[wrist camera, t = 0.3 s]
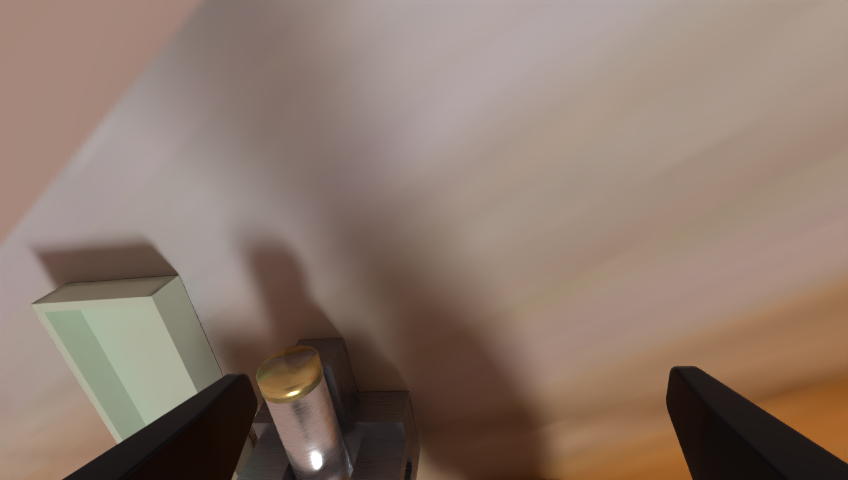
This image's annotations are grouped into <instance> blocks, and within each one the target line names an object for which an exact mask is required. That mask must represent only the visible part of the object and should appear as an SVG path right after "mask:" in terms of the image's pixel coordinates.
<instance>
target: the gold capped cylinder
mask: <svg viewBox="0 0 848 480" xmlns="http://www.w3.org/2000/svg"><path fill="white" fill-rule="evenodd" d="M256 380H257V383H258V386H259V388H260V391H261V393H262V395H263V397H264V399H265V400H266V403H267V405H268V408H269V410H270V413H271V415H272V418H273V421H274V423H275V426H276V428H277V431H278V433H279V436H280V438H281V441H282V443H283V446H284V448H285V451H286V453H287V456H288V458H289V461H290V464H291V466H292V469H293V471H294V474H295V476H296V479H297V480H350V477H351V474H352V470H353V468H352V465H351V461H350V458H349V455H348V452H347V448H346V445H345V442H344V439H343V435H342V432H341V429H340V426H339V422H338V419H337V416H336V413H335V409H334V406H333V403H332V400H331V396H330V393H329V390H328V387H327V383H326V380H325V377H324V374H323V367H322V364H321V361H320V357H319V354H318V352H317V351H316V350H315V349H314V348H312V347H309V346H303V345H300V346H292V347H288V348H285V349H282V350H280V351H278V352H276V353H274V354H273V355H271V356H270V357H268V358H267V359H266V360H265V361H264V362H263V363H262V364H261V365H260V366H259V368H258V370H257V373H256Z"/></svg>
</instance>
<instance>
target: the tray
mask: <svg viewBox="0 0 848 480" xmlns="http://www.w3.org/2000/svg"><path fill="white" fill-rule="evenodd" d="M30 305H31V306H32V308H33V309H34V311H35V313H36V314H37V316H38V317H39V319H40V321H41V322H42V324H43V325H44V327H45V329H46V330H47V332H48V333H49V335H50V337H51V338H52V340H53V341H54V343H55V345H56V346H57V348H58V349H59V351H60V353H61V354H62V356H63V357H64V359H65V361H66V362H67V364H68V365H69V367H70V369H71V370H72V372H73V373H74V375H75V377H76V378H77V380H78V381H79V383H80V385H81V386H82V388H83V389H84V391H85V392H86V394H87V396H88V397H89V399H90V400H91V402H92V404H93V405H94V407H95V408H96V410H97V412H98V413H99V415H100V416H101V418H102V420H103V421H104V423H105V424H106V426H107V428H108V429H109V431H110V432H111V434H112V436H113V437H114V439H115V440H116V442H117V444H119V443H120V442H122V441H123V440H125V439H127V438H128V437H130V436H131V435H133V434H134V433H136V432H137V431H139V430H141V429H142V428H144V427H145V426H147V425H148V424H150V423H152V422H153V421H155V420H156V419H158V418H159V417H161V416H163V415H164V414H166V413H167V412H169V411H170V410H172V409H173V408H175V407H177V406H178V405H180V404H181V403H183V402H184V401H186V400H188V399H189V398H191V397H192V396H194V395H195V394H197V393H199V392H200V391H202V390H203V389H205V388H206V387H208V386H209V385H211V384H213V383H214V382H216V381H217V380H219V379H220V378H222V377H223V375H222V373H221V370H220V368H219V366H218V364H217V361H216V359H215V357H214V354H213V352H212V350H211V348H210V345H209V343H208V341H207V338H206V336H205V334H204V332H203V329H202V327H201V325H200V322H199V320H198V318H197V316H196V313H195V311H194V309H193V306H192V304H191V302H190V300H189V297H188V295H187V293H186V290H185V288H184V286H183V284H182V281H181V279H180V277H179V275H174V276H161V277H147V278H134V279H120V280H107V281H93V282H80V283H67V284H65V285H63V286H61V287H59V288H58V289H56V290H54V291H53V292H51V293H49V294H47V295H46V296H44V297H42V298H40V299H39V300H37V301H35V302H33V303H32V304H30ZM253 449H254V446H253V444H252V441H251V439H250V437H249V434H248V437H247V439H246V442H245V445H244V448H243V450H242V453H241V456H240V459H239V461H238V464H237V467H236V469H235V472H234V474H233V477H232V479H231V480H236V479H237V477H238V476H239V474H240V472H241V470H242V468H243V467H244V465H245V463H246V461H247V459H248V458H249V456H250V454H251V452H252V450H253Z"/></svg>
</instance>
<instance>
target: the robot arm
mask: <svg viewBox="0 0 848 480" xmlns="http://www.w3.org/2000/svg"><path fill="white" fill-rule="evenodd" d="M666 404H667V409H668V413H669V415H670V418H671V421H672V424H673V426H674V429H675V432H676V435H677V437H678V440H679V443H680V446H681V449H682V451H683V454H684V457H685V460H686V462H687V465H688V468H689V471H690V474H691V476H692V479H693V480H848V464H847V463H846V462H844V461H842V460H841V459H839V458H838V457H836V456H835V455H833V454H832V453H830V452H828V451H827V450H825V449H824V448H822V447H821V446H819V445H818V444H816V443H814V442H813V441H811V440H810V439H808V438H807V437H805V436H804V435H802V434H800V433H799V432H797V431H796V430H794V429H793V428H791V427H790V426H788V425H786V424H785V423H783V422H782V421H780V420H779V419H777V418H776V417H774V416H772V415H771V414H769V413H768V412H766V411H765V410H763V409H762V408H760V407H758V406H757V405H755V404H754V403H752V402H751V401H749V400H748V399H746V398H744V397H743V396H741V395H740V394H738V393H737V392H735V391H734V390H732V389H731V388H729V387H727V386H726V385H724V384H723V383H721V382H720V381H718V380H717V379H715V378H713V377H712V376H710V375H709V374H707V373H706V372H704V371H703V370H701V369H699V368H697V367H695V366H675V367H673V368H671V370H670V374H669V381H668V388H667V395H666ZM257 405H258V403H257V398H256V395H255V393H254V390H253V387H252V385H251V382H250V379H249V377H248V376H247V375H246V374H244V373H233V374H227V375H225V376H224V377H222V378H220V379H219V380H217V381H216V382H214V383H213V384H211V385H209V386H208V387H206V388H205V389H203V390H202V391H200V392H199V393H197V394H195V395H194V396H192V397H191V398H189V399H188V400H186V401H184V402H183V403H181V404H180V405H178V406H177V407H175V408H173V409H172V410H170V411H169V412H167V413H166V414H164V415H163V416H161V417H159V418H158V419H156V420H155V421H153V422H152V423H150V424H148V425H147V426H145V427H144V428H142V429H141V430H139V431H137V432H136V433H134V434H133V435H131V436H130V437H128V438H127V439H125V440H123V441H122V442H120V443H119V444H117V445H116V446H114V447H112V448H111V449H109V450H108V451H106V452H105V453H103V454H102V455H100V456H98V457H97V458H95V459H94V460H92V461H91V462H89V463H87V464H86V465H84V466H83V467H81V468H80V469H78V470H76V471H75V472H73V473H72V474H70V475H69V476H67V477H66V478H64V479H62V480H231V479H232V477H233V474H234V472H235V469H236V467H237V464H238V461H239V459H240V456H241V453H242V450H243V448H244V445H245V442H246V439H247V437H248V434H249V431H250V428H251V426H252V423H253V420H254V417H255V415H256V411H257Z"/></svg>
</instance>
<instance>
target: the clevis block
mask: <svg viewBox="0 0 848 480" xmlns="http://www.w3.org/2000/svg"><path fill="white" fill-rule="evenodd" d="M300 345H303V346H309V347H312V348H314V349H315V350H316V351H317V352H318V354H319V357H320V361H321V364H322V367H323V374H324V377H325V380H326V383H327V387H328V390H329V393H330V396H331V400H332V403H333V406H334V409H335V413H336V416H337V419H338V422H339V426H340V429H341V432H342V435H343V439H344V442H345V445H346V448H347V452H348V455H349V458H350V461H351V465H352V468H353V470H352V474H351V477H350V480H416V477H417V470H418V463H419V456H420V445H419V440H418V435H417V430H416V425H415V421H414V416H413V411H412V406H411V401H410V396H409V391H388V392H358V391H357V388H356V384H355V380H354V376H353V373H352V369H351V365H350V362H349V358H348V354H347V351H346V347H345V343H344V340H343V338H339V339H316V340H299V341H298V342H297V344H296V346H300ZM252 426H253V428H254V431H255V433H256V435H257V438H258V441H257V443H256V445H255V447H254V449H253V450H252V452H251V454H250V456H249V458H248V459H247V461H246V463H245V465H244V467H243V468H242V470H241V472H240V474H239V476H238V477H237V479H236V480H297V479H296V476H295V474H294V471H293V469H292V466H291V464H290V461H289V458H288V456H287V453H286V451H285V448H284V446H283V443H282V441H281V438H280V436H279V433H278V431H277V428H276V426H275V423H274V421H273V418H272V415H271V413H270V410H269V408H268V405H267V403H266V400H265V401H264V403H263V405H262V406H261V408H260V410H259V411H258V413H257V415H256V416H255V418H254V420H253V423H252Z"/></svg>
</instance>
